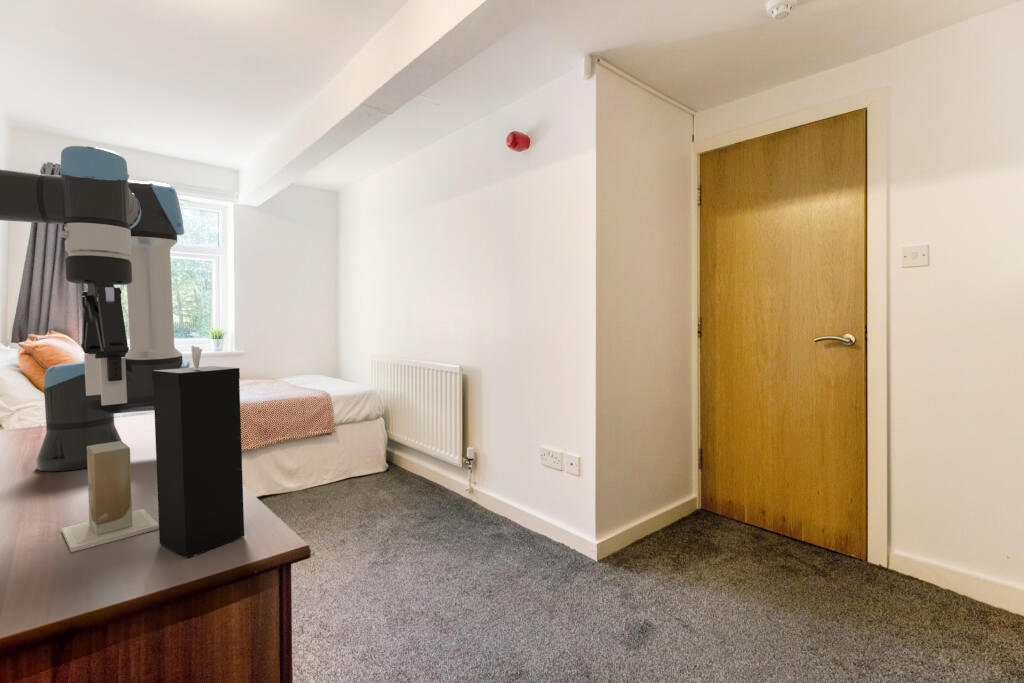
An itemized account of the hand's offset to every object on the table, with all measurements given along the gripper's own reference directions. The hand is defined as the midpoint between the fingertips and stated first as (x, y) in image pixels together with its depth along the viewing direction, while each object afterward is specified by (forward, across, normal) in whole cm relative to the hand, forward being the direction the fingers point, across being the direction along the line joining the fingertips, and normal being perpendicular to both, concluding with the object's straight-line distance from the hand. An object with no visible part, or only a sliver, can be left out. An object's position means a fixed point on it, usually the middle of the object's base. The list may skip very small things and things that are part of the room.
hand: (105, 399), depth 73 cm
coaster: (+20, 0, 0) cm, 20 cm away
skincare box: (+20, 0, 0) cm, 20 cm away
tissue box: (+20, +15, +8) cm, 26 cm away
